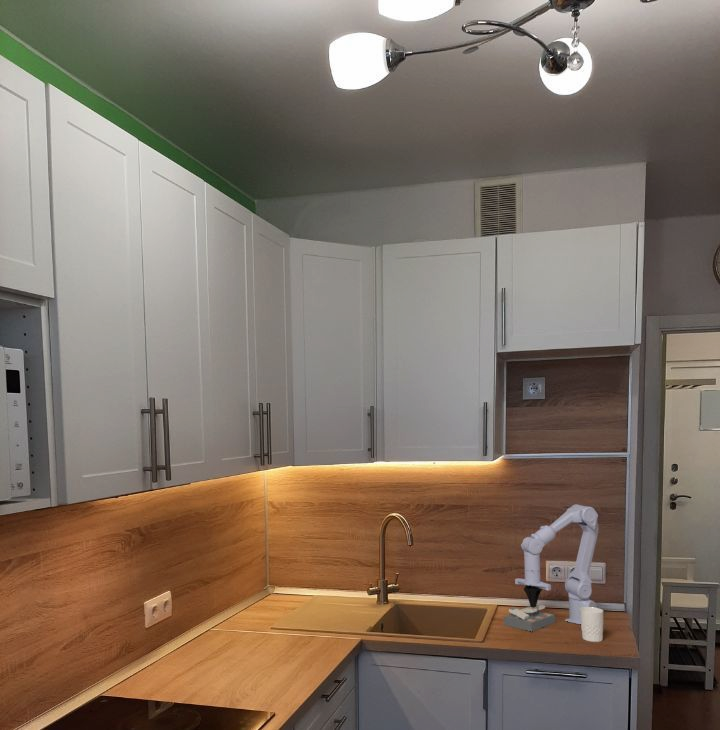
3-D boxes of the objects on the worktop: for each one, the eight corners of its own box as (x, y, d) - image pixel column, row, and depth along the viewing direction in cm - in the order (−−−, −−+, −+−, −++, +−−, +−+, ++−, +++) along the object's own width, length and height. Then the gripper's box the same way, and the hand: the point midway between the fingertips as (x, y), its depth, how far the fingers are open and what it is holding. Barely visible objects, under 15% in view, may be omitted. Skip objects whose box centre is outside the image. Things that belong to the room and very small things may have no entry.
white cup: (576, 639, 230) (575, 609, 231) (587, 634, 235) (586, 605, 236) (598, 644, 224) (596, 614, 225) (608, 639, 229) (607, 609, 230)
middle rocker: (537, 610, 247) (537, 607, 248) (532, 612, 245) (531, 608, 245) (522, 611, 252) (521, 608, 252) (517, 613, 249) (516, 609, 250)
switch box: (555, 623, 248) (554, 613, 249) (531, 632, 237) (531, 621, 238) (528, 616, 257) (527, 606, 257) (504, 624, 246) (503, 614, 247)
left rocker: (529, 618, 243) (530, 614, 243) (523, 620, 241) (524, 616, 241) (513, 609, 249) (514, 606, 249) (508, 611, 246) (508, 608, 246)
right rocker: (545, 607, 251) (544, 604, 251) (540, 609, 248) (539, 605, 249) (530, 609, 256) (529, 605, 256) (525, 611, 253) (524, 607, 254)
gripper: (510, 568, 251) (511, 604, 249) (543, 574, 240) (544, 612, 239) (520, 565, 255) (521, 601, 254) (553, 571, 245) (554, 608, 243)
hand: (533, 606), depth 247 cm, fingers closed
